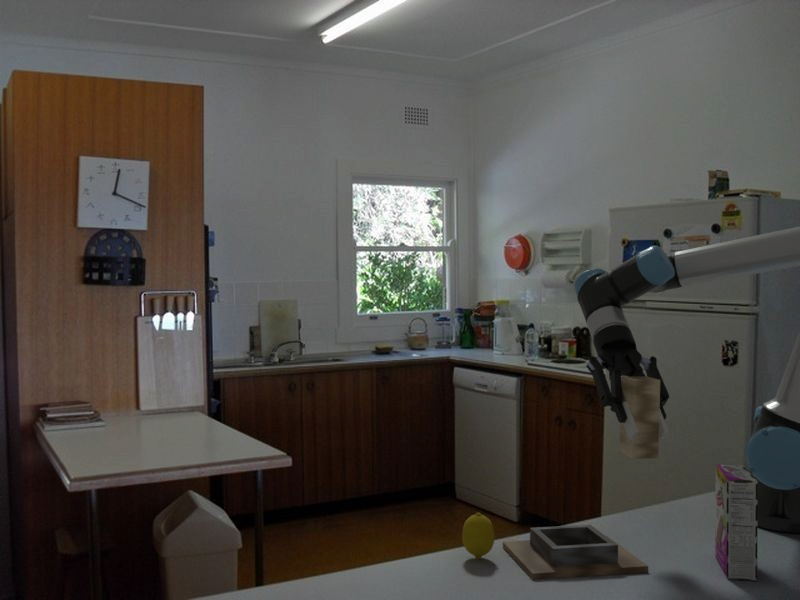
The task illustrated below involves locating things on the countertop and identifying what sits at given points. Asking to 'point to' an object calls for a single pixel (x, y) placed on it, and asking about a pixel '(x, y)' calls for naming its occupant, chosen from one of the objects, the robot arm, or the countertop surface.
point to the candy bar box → (736, 521)
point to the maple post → (641, 417)
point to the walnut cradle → (572, 553)
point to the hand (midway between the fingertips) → (648, 435)
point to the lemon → (478, 535)
